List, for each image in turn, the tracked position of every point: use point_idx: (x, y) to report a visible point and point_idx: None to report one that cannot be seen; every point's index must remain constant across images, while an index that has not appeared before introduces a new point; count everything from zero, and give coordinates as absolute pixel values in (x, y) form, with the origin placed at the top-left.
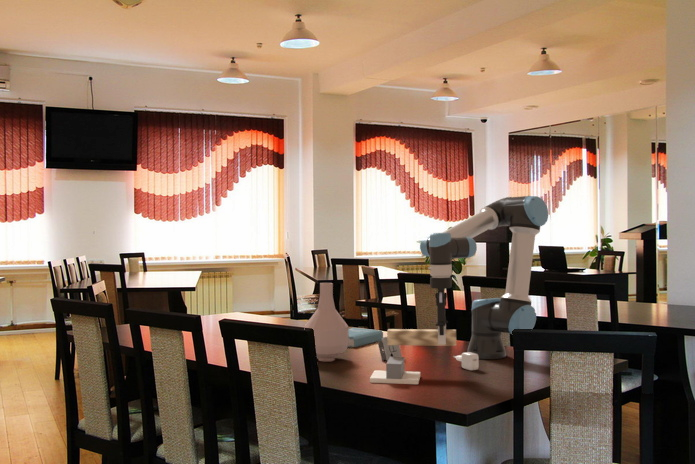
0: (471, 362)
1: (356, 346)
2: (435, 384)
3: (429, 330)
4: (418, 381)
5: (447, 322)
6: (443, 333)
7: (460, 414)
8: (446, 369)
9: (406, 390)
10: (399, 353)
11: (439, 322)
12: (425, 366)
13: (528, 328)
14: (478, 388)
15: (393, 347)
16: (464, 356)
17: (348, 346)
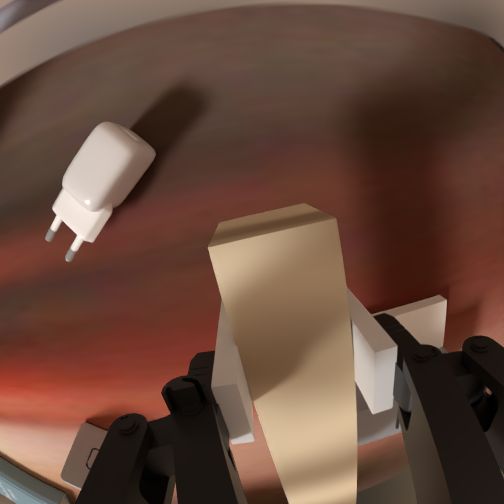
0: (146, 148)
1: (58, 490)
2: (430, 242)
3: (321, 436)
4: (425, 301)
5: (199, 377)
6: (396, 319)
7: None
8: (167, 260)
9: (491, 300)
10: (86, 435)
11: (485, 389)
12: (152, 345)
13: None
14: (435, 95)
15: None
16: (112, 191)
17: (67, 499)
